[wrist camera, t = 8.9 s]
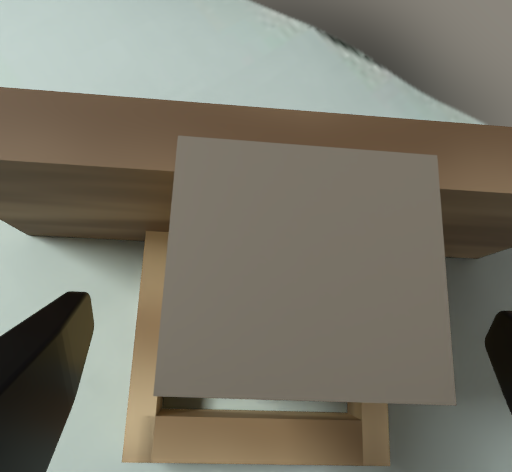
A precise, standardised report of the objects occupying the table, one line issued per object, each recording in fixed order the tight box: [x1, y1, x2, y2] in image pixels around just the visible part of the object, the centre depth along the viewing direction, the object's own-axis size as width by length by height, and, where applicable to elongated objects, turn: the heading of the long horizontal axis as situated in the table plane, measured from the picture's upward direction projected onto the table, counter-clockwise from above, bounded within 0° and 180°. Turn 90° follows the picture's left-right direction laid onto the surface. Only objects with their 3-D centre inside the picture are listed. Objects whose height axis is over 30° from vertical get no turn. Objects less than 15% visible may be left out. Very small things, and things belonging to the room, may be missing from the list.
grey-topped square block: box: [153, 136, 456, 405], centre depth 13 cm, size 5×6×10 cm
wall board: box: [0, 87, 512, 466], centre depth 14 cm, size 10×20×8 cm, turn 88°
